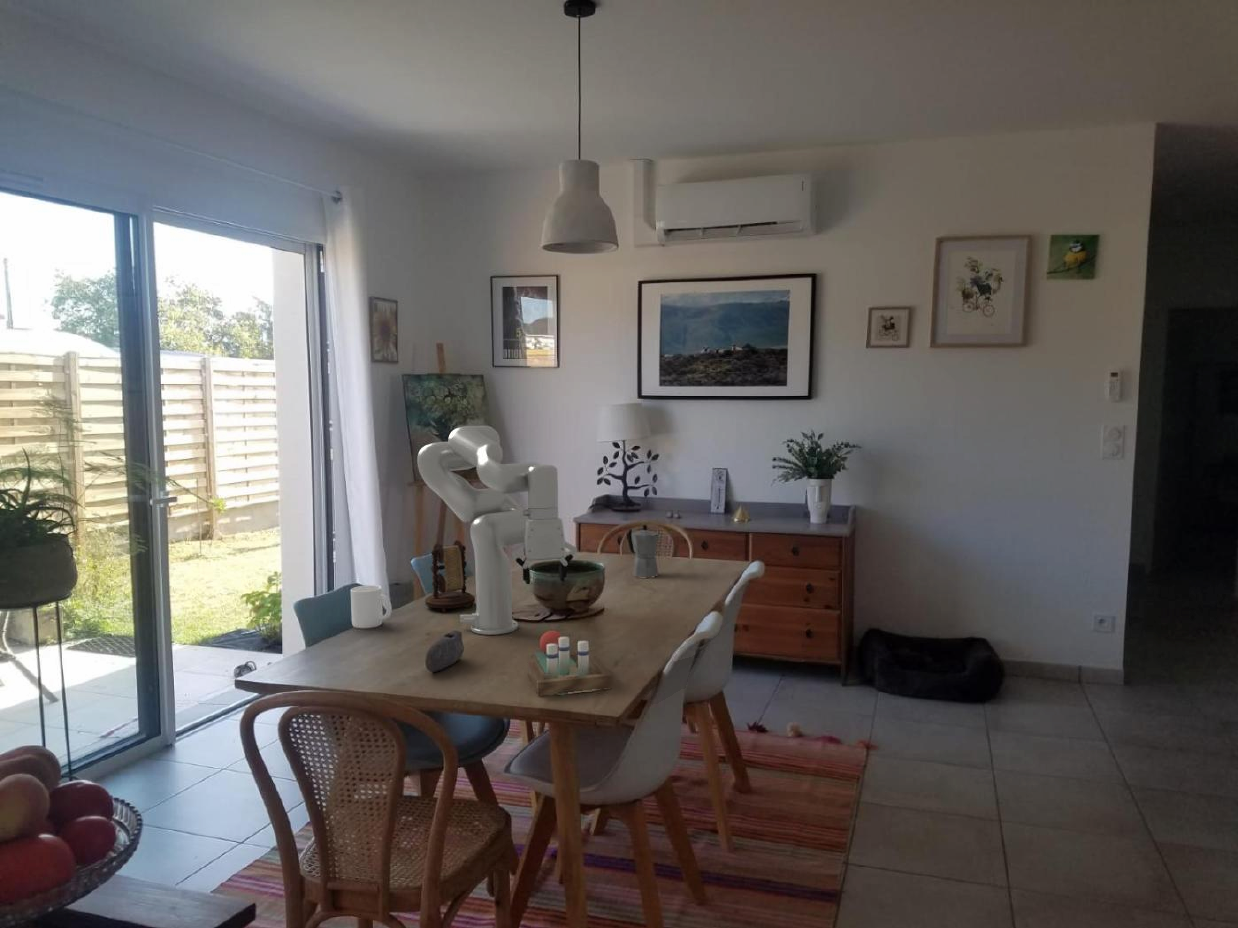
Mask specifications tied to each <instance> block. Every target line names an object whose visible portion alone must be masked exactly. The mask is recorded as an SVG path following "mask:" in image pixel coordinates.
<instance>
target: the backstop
mask: <svg viewBox="0 0 1238 928" xmlns="http://www.w3.org/2000/svg"><path fill="white" fill-rule="evenodd" d="M589 671H592V672H591V673H592V674H589V675H585V676H575V677H565V678H555V679H545V678H544V677H543V674H542V673H541V671H540V668H539V667H538V665H537V664H536V662H535V661H528V662H527V676H528V679H529V678H530V679H529V680H531V681H530V683H531V682H532V683H531V685H532V684H533V685H532V686H534V687H533V688H535V689H534V691H535V690H536V691H535V693H536V692H537V693H536V695H537V694H538V695H537V697H538V696H540V697H543V696H542V695H550V696H553V695H552V694H560V693H568V692H574V691H583V690H592V689H604V688H613V687H612V680H613V679H612V677H613V676H612V674H611V673H610V671H609V670H608V669H607V668H606V667H605V665H604V664H603V662H602V661H601V660H600V658H598V656H597V655H591V656H589ZM593 673H594V674H593Z"/></svg>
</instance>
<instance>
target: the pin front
mask: <svg viewBox="0 0 1238 928" xmlns="http://www.w3.org/2000/svg"><path fill="white" fill-rule="evenodd" d="M569 654H570V637H568V636H563V637H560V638H559V675H563V676H565V675H569V674H570V659H569Z"/></svg>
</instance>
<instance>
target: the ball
mask: <svg viewBox="0 0 1238 928" xmlns="http://www.w3.org/2000/svg"><path fill="white" fill-rule="evenodd" d="M560 637H564V636H563V635H562V634H561V633H560V632H559V631H556V630H548V631H546V632H544V633H543V634H542V635H541V636H540V640H539V647H540V650H541V652H544V653H545V654H547V644H557V645H558V654H559V638H560Z"/></svg>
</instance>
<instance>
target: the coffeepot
mask: <svg viewBox="0 0 1238 928" xmlns="http://www.w3.org/2000/svg"><path fill="white" fill-rule="evenodd" d="M660 537H661V536H660V534H659V532H656V531H652V530H650V529H649V530H648V525H647V524H643V525H642V530H638V529H637V530H635V529H629V530H628V531H627V533H626V538H627V542H628V546H629V550H630V553H633V554H635V557H634V560H633V567H632V571H631V572H632V573H631V575H632V574H633V575H635V576H637V577H652V576H656V575H657V574H659V569H658V565H657V558H656V554H655V553H657V546H658V540H659V538H660ZM633 575H632V576H633Z"/></svg>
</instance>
